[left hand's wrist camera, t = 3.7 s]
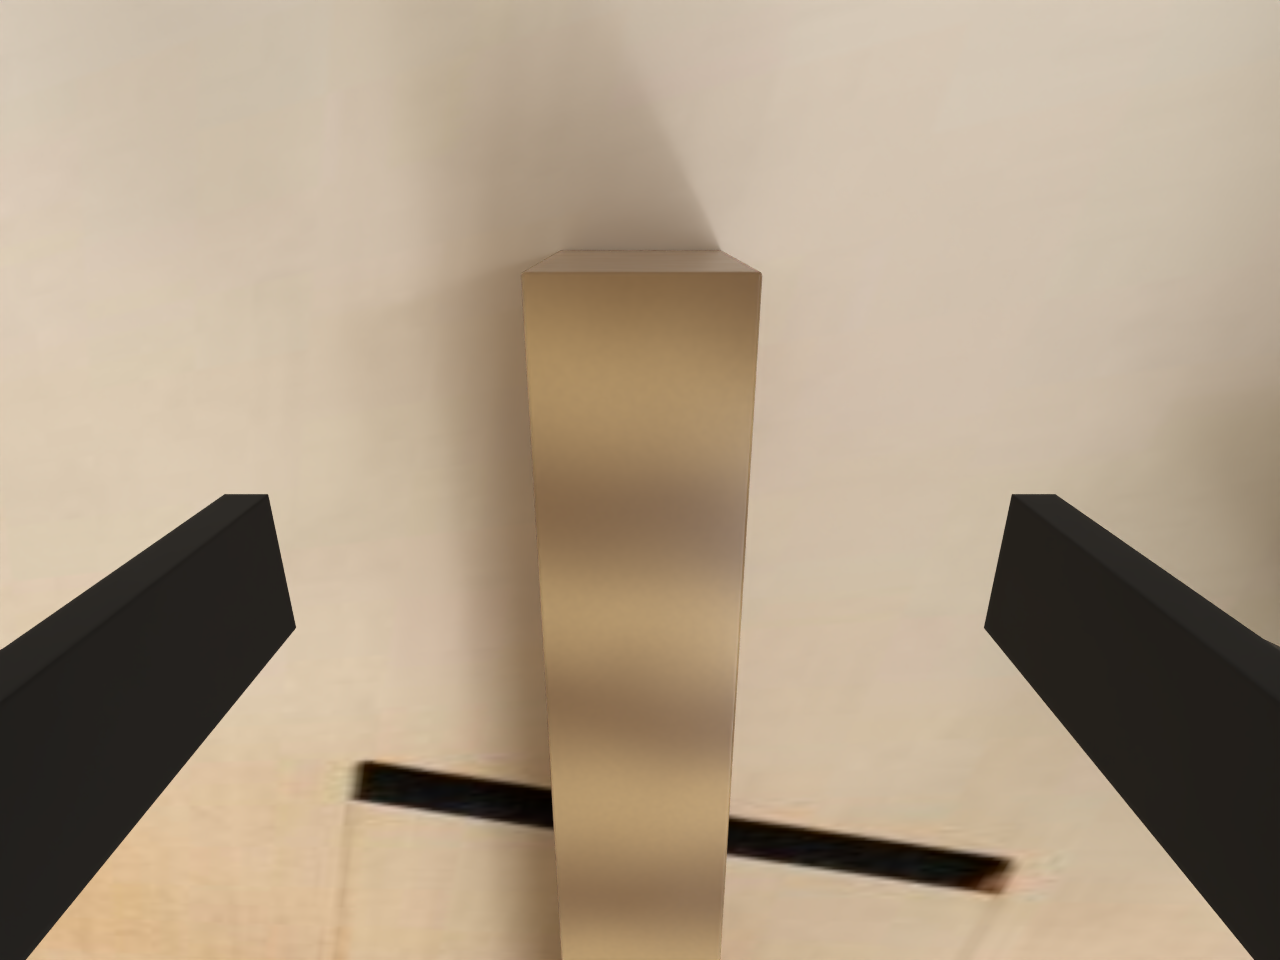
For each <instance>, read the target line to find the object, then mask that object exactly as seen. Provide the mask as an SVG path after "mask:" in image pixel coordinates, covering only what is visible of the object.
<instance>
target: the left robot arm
mask: <svg viewBox="0 0 1280 960" xmlns="http://www.w3.org/2000/svg"><path fill="white" fill-rule="evenodd" d="M295 628H296V625H295V621H294V616H293V611H292V606H291V602H290V597H289V592H288V587H287V582H286V578H285V573H284V568H283V563H282V559H281V554H280V549H279V544H278V540H277V535H276V530H275V525H274V520H273V516H272V511H271V506H270V501H269V497H268V494H224V495H223V496H222V497H220V498H219V499H217V500H216V501H214V502H213V503H211V504H210V505H209V506H207V507H206V508H204V509H203V510H201V511H200V512H199V513H197V514H196V515H194V516H193V517H191V518H190V519H188V520H187V521H186V522H184V523H183V524H181V525H180V526H178V527H177V528H176V529H174V530H173V531H171V532H170V533H168V534H167V535H165V536H164V537H163V538H161V539H160V540H158V541H157V542H155V543H154V544H153V545H151V546H150V547H148V548H147V549H145V550H144V551H142V552H141V553H140V554H138V555H137V556H135V557H134V558H132V559H131V560H130V561H128V562H127V563H125V564H124V565H122V566H121V567H119V568H118V569H117V570H115V571H114V572H112V573H111V574H109V575H108V576H107V577H105V578H104V579H102V580H101V581H99V582H98V583H96V584H95V585H94V586H92V587H91V588H89V589H88V590H86V591H85V592H84V593H82V594H81V595H79V596H78V597H76V598H75V599H74V600H72V601H71V602H69V603H68V604H66V605H65V606H63V607H62V608H61V609H59V610H58V611H56V612H55V613H53V614H52V615H51V616H49V617H48V618H46V619H45V620H43V621H42V622H40V623H39V624H38V625H36V626H35V627H33V628H32V629H30V630H29V631H28V632H26V633H25V634H23V635H22V636H20V637H19V638H17V639H16V640H15V641H13V642H12V643H10V644H9V645H7V646H6V647H5V648H3V649H1V650H0V960H26V959H27V958H28V956H29V955H30V954H31V953H32V951H33V950H34V949H35V948H36V947H37V945H38V944H39V943H40V942H41V940H42V939H43V938H44V937H45V936H46V934H47V933H48V932H49V931H50V929H51V928H52V927H53V926H54V924H55V923H56V922H57V921H58V920H59V918H60V917H61V916H62V915H63V913H64V912H65V911H66V910H67V909H68V907H69V906H70V905H71V904H72V902H73V901H74V900H75V899H76V897H77V896H78V895H79V894H80V893H81V891H82V890H83V889H84V888H85V886H86V885H87V884H88V883H89V881H90V880H91V879H92V878H93V877H94V875H95V874H96V873H97V872H98V870H99V869H100V868H101V867H102V866H103V864H104V863H105V862H106V861H107V859H108V858H109V857H110V856H111V854H112V853H113V852H114V851H115V850H116V848H117V847H118V846H119V845H120V843H121V842H122V841H123V840H124V838H125V837H126V836H127V835H128V834H129V832H130V831H131V830H132V829H133V827H134V826H135V825H136V824H137V823H138V821H139V820H140V819H141V818H142V816H143V815H144V814H145V813H146V811H147V810H148V809H149V808H150V807H151V805H152V804H153V803H154V802H155V800H156V799H157V798H158V797H159V795H160V794H161V793H162V792H163V791H164V789H165V788H166V787H167V786H168V784H169V783H170V782H171V781H172V780H173V778H174V777H175V776H176V775H177V773H178V772H179V771H180V770H181V768H182V767H183V766H184V765H185V764H186V762H187V761H188V760H189V759H190V757H191V756H192V755H193V754H194V753H195V751H196V750H197V749H198V748H199V746H200V745H201V744H202V743H203V741H204V740H205V739H206V738H207V737H208V735H209V734H210V733H211V732H212V730H213V729H214V728H215V727H216V725H217V724H218V723H219V722H220V721H221V719H222V718H223V717H224V716H225V714H226V713H227V712H228V711H229V710H230V708H231V707H232V706H233V705H234V703H235V702H236V701H237V700H238V698H239V697H240V696H241V695H242V694H243V692H244V691H245V690H246V689H247V687H248V686H249V685H250V684H251V682H252V681H253V680H254V679H255V678H256V676H257V675H258V674H259V673H260V671H261V670H262V669H263V668H264V667H265V665H266V664H267V663H268V662H269V660H270V659H271V658H272V657H273V655H274V654H275V653H276V652H277V651H278V649H279V648H280V647H281V646H282V644H283V643H284V642H285V641H286V639H287V638H288V637H289V636H290V635H291V633H292V632H293V631H294V630H295ZM984 628H985V630H986V631H987V632H988V633H989V635H990V636H991V637H992V638H993V639H994V641H995V642H996V643H997V644H998V646H999V647H1000V648H1001V649H1002V651H1003V652H1004V653H1005V654H1006V655H1007V657H1008V658H1009V659H1010V660H1011V662H1012V663H1013V664H1014V665H1015V667H1016V668H1017V669H1018V670H1019V671H1020V673H1021V674H1022V675H1023V676H1024V678H1025V679H1026V680H1027V681H1028V682H1029V684H1030V685H1031V686H1032V687H1033V689H1034V690H1035V691H1036V692H1037V694H1038V695H1039V696H1040V697H1041V698H1042V700H1043V701H1044V702H1045V703H1046V705H1047V706H1048V707H1049V708H1050V710H1051V711H1052V712H1053V713H1054V714H1055V716H1056V717H1057V718H1058V719H1059V721H1060V722H1061V723H1062V724H1063V725H1064V727H1065V728H1066V729H1067V730H1068V732H1069V733H1070V734H1071V735H1072V737H1073V738H1074V739H1075V740H1076V741H1077V743H1078V744H1079V745H1080V746H1081V748H1082V749H1083V750H1084V751H1085V753H1086V754H1087V755H1088V756H1089V757H1090V759H1091V760H1092V761H1093V762H1094V764H1095V765H1096V766H1097V767H1098V768H1099V770H1100V771H1101V772H1102V773H1103V775H1104V776H1105V777H1106V778H1107V780H1108V781H1109V782H1110V783H1111V784H1112V786H1113V787H1114V788H1115V789H1116V791H1117V792H1118V793H1119V794H1120V795H1121V797H1122V798H1123V799H1124V800H1125V802H1126V803H1127V804H1128V805H1129V807H1130V808H1131V809H1132V810H1133V811H1134V813H1135V814H1136V815H1137V816H1138V818H1139V819H1140V820H1141V821H1142V823H1143V824H1144V825H1145V826H1146V827H1147V829H1148V830H1149V831H1150V832H1151V834H1152V835H1153V836H1154V837H1155V838H1156V840H1157V841H1158V842H1159V843H1160V845H1161V846H1162V847H1163V848H1164V850H1165V851H1166V852H1167V853H1168V854H1169V856H1170V857H1171V858H1172V859H1173V861H1174V862H1175V863H1176V864H1177V866H1178V867H1179V868H1180V869H1181V870H1182V872H1183V873H1184V874H1185V875H1186V877H1187V878H1188V879H1189V880H1190V881H1191V883H1192V884H1193V885H1194V886H1195V888H1196V889H1197V890H1198V891H1199V893H1200V894H1201V895H1202V896H1203V897H1204V899H1205V900H1206V901H1207V902H1208V904H1209V905H1210V906H1211V907H1212V909H1213V910H1214V911H1215V912H1216V913H1217V915H1218V916H1219V917H1220V918H1221V920H1222V921H1223V922H1224V923H1225V924H1226V926H1227V927H1228V928H1229V929H1230V931H1231V932H1232V933H1233V934H1234V936H1235V937H1236V938H1237V939H1238V940H1239V942H1240V943H1241V944H1242V945H1243V947H1244V948H1245V949H1246V950H1247V951H1248V953H1249V954H1250V955H1251V956H1252V958H1253V959H1254V960H1280V647H1279V646H1277V645H1275V644H1273V643H1271V642H1269V641H1266V640H1264V639H1263V638H1261V637H1260V636H1258V635H1257V634H1255V633H1254V632H1252V631H1251V630H1250V629H1248V628H1247V627H1245V626H1244V625H1242V624H1241V623H1240V622H1238V621H1237V620H1235V619H1234V618H1232V617H1231V616H1229V615H1228V614H1227V613H1225V612H1224V611H1222V610H1221V609H1219V608H1218V607H1217V606H1215V605H1214V604H1212V603H1211V602H1209V601H1208V600H1206V599H1205V598H1204V597H1202V596H1201V595H1199V594H1198V593H1196V592H1195V591H1194V590H1192V589H1191V588H1189V587H1188V586H1186V585H1185V584H1184V583H1182V582H1181V581H1179V580H1178V579H1176V578H1175V577H1173V576H1172V575H1171V574H1169V573H1168V572H1166V571H1165V570H1163V569H1162V568H1161V567H1159V566H1158V565H1156V564H1155V563H1153V562H1152V561H1150V560H1149V559H1148V558H1146V557H1145V556H1143V555H1142V554H1140V553H1139V552H1138V551H1136V550H1135V549H1133V548H1132V547H1130V546H1129V545H1127V544H1126V543H1125V542H1123V541H1122V540H1120V539H1119V538H1117V537H1116V536H1115V535H1113V534H1112V533H1110V532H1109V531H1107V530H1106V529H1104V528H1103V527H1102V526H1100V525H1099V524H1097V523H1096V522H1094V521H1093V520H1092V519H1090V518H1089V517H1087V516H1086V515H1084V514H1083V513H1081V512H1080V511H1079V510H1077V509H1076V508H1074V507H1073V506H1071V505H1070V504H1069V503H1067V502H1066V501H1064V500H1063V499H1061V498H1060V497H1058V496H1057V495H1056V494H1012V497H1011V501H1010V506H1009V511H1008V516H1007V520H1006V525H1005V530H1004V535H1003V540H1002V544H1001V549H1000V554H999V559H998V563H997V568H996V573H995V578H994V582H993V587H992V592H991V597H990V602H989V606H988V611H987V616H986V621H985V625H984Z"/></svg>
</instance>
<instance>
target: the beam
mask: <svg viewBox="0 0 1280 960" xmlns="http://www.w3.org/2000/svg"><path fill="white" fill-rule="evenodd" d="M521 285H522V302H523V318H524V335H525V352H526V369H527V386H528V402H529V419H530V436H531V453H532V469H533V486H534V503H535V520H536V537H537V553H538V570H539V587H540V604H541V621H542V637H543V654H544V671H545V688H546V705H547V721H548V738H549V755H550V772H551V788H552V805H553V822H554V839H555V856H556V872H557V889H558V906H559V923H560V940H561V956H562V960H720V954H721V937H722V921H723V905H724V889H725V872H726V856H727V840H728V824H729V807H730V791H731V775H732V759H733V742H734V726H735V710H736V693H737V677H738V661H739V645H740V628H741V612H742V596H743V580H744V563H745V547H746V531H747V514H748V498H749V482H750V466H751V449H752V433H753V417H754V401H755V384H756V368H757V352H758V335H759V319H760V303H761V287H762V274H761V272H759V271H757V270H755V269H753V268H752V267H750V266H748V265H746V264H744V263H743V262H741V261H739V260H737V259H736V258H734V257H732V256H730V255H728V254H727V253H725V252H723V251H721V250H561V251H559V252H557V253H556V254H554V255H552V256H550V257H549V258H547V259H545V260H543V261H542V262H540V263H538V264H536V265H535V266H533V267H531V268H529V269H528V270H526V271H524V272H522V274H521Z"/></svg>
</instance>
